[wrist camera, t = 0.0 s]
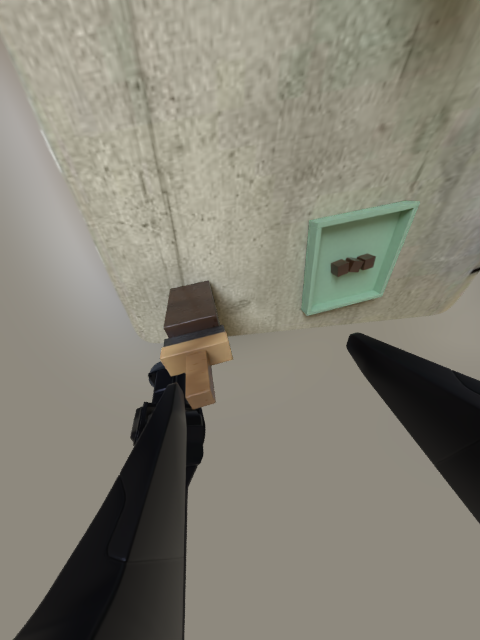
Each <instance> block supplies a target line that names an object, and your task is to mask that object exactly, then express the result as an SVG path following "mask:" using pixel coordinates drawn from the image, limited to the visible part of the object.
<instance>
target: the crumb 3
mask: <svg viewBox="0 0 480 640" xmlns="http://www.w3.org/2000/svg"><path fill="white" fill-rule="evenodd" d="M357 259H359V260H362V261H364V262H363V264H362V266H361V268H360V269H361V270H367V269H370V268H373V267H374V263H375V259H376V256H373V255H370V254H368V253H367V254H364V255H360V256H357Z"/></svg>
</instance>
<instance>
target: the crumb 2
mask: <svg viewBox="0 0 480 640" xmlns="http://www.w3.org/2000/svg"><path fill="white" fill-rule="evenodd" d="M345 261H347V262H349V269H348V272H357V273H358V272H359V270H360V268H361V266H362V264H363V262H364V261H362V260H359V259H357V258H350V257H347V258H346V260H345Z"/></svg>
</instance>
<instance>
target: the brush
mask: <svg viewBox="0 0 480 640" xmlns="http://www.w3.org/2000/svg"><path fill="white" fill-rule="evenodd" d="M232 359H233V357H232V353H231V349H230V345H229V341H228V337H227V333H226V331H225V329H224V325H220V326H216V327H212V328H208V329H204V330H200V331H196V332H192V333H188V334H184V335H180V336H176V337H172V338H168V339H165V340H164V347H163V348H162V349H161V356H160V360H161V361H162V363H163V365H164V366H165V368H166V369H167V371H168V372H169V374H170V376H175V375H178V374H182V373H186V396H185V397H186V399H187V401H188V402H189V404H190V406H191V407H192V409H196V408H200V407H203V406H207V405H210V404H214V403H215V402H216V401H215V392H214V384H213V378H212V369H211V366H212V365H215V364H219V363H223V362H226V361H229V360H232Z"/></svg>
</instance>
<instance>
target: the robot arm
mask: <svg viewBox="0 0 480 640" xmlns="http://www.w3.org/2000/svg"><path fill="white" fill-rule="evenodd" d="M346 346H347V349H348V351H349V353H350V354H351V356H352V357H353V359H354V361H355V362H356V364H357V365H358V367H359V368H360V370H361V372H362V373H363V374H364V376H365V377H366V378H367V380H368V381H369V382H370V384H371V385H372V386H373V387H374V389H375V390H376V391H377V392H378V394H379V395H380V396H381V398H382V399H383V400H384V401H385V403H386V404H387V405H388V407H389V408H390V409H391V411H392V412H393V413H394V414H395V416H396V417H397V418H398V419H399V421H400V422H401V423H402V425H403V426H404V427H405V428H406V430H407V431H408V432H409V433H410V435H411V436H412V437H413V439H414V440H415V441H416V443H417V444H418V445H419V446H420V448H421V449H422V450H423V452H424V453H425V454H426V455H427V457H428V458H429V459H430V460H431V462H432V463H433V464H434V466H435V467H436V468H437V470H438V471H439V472H440V473H441V475H442V476H443V477H444V479H445V480H446V481H447V482H448V484H449V485H450V486H451V488H452V489H453V490H454V491H455V492H456V494H457V495H458V496H459V498H460V499H461V500H462V501H463V503H464V504H465V505H466V507H467V508H468V509H469V511H470V512H471V513H472V514H473V516H474V517H475V518H476V520H477V521H478V522H479V523H480V381H479V380H476V379H474V378H471V377H469V376H466V375H463V374H461V373H459V372H456V371H453V370H451V369H449V368H446V367H443V366H441V365H438V364H436V363H434V362H431V361H429V360H426V359H423V358H421V357H419V356H416V355H414V354H411V353H408V352H406V351H404V350H401V349H399V348H396V347H394V346H391V345H389V344H386V343H384V342H381V341H379V340H376V339H374V338H371V337H369V336H366V335H364V334H362V333H353V334H351V335H350V336H349V338H348V342H347V345H346ZM148 377H149V379H150V380H151V381H152V383H153V384H154V385H155V386H154V393H153V399H152V403H148V402H144V404H143V407H140V408H138V409H137V410H136V414H135V418H134V422H133V427H132V432H131V437H130V438H131V440H132V441H133V446H134V448H133V450H132V452H131V454H130V455H129V457H128V459H127V461H126V463H125V465H124V466H123V468H122V470H121V472H120V475H119V476H118V477H117V479H116V481H115V483H114V485H113V487H112V489H111V490H110V492H109V494H108V495H107V497H106V499H105V501H104V503H103V504H102V506H101V508H100V509H99V511H98V513H97V515H96V516H95V518H94V519H93V521H92V523H91V524H90V526H89V528H88V529H87V531H86V533H85V534H84V536H83V537H82V539H81V541H80V542H79V544H78V545H77V547H76V548H75V550H74V552H73V553H72V555H71V556H70V558H69V560H68V561H67V563H66V565H65V566H64V568H63V569H62V571H61V572H60V574H59V576H58V577H57V579H56V580H55V582H54V584H53V585H52V587H51V588H50V590H49V592H48V593H47V595H46V596H45V598H44V599H43V601H42V602H41V604H40V605H39V606H38V608H37V609H36V611H35V612H34V614H33V615H32V616H31V617H30V619H29V620H28V621H27V623H26V624H25V625H24V627H23V628H22V629H21V631H20V632H19V633H18V634H17V636H16V637H15V638H14V639H13V640H184V625H185V624H184V623H185V620H184V619H185V583H186V582H185V580H186V539H187V498H188V486H189V484H190V482H191V479H192V477H193V475H194V472H195V471H196V468H197V466H198V465H199V464H200V463H201V460H202V457H203V443H204V439H205V421H204V417H203V413H202V409H201V407H200V408H196V409H192V407H191V406H190V404H189V402H188V401H187V399H186V397H185V396H186V373H182V374H178V375H175V376H170V374H169V372H168V371H167V369H166V368H165V369H161V370H157V371H153V372H150V373H148Z"/></svg>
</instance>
